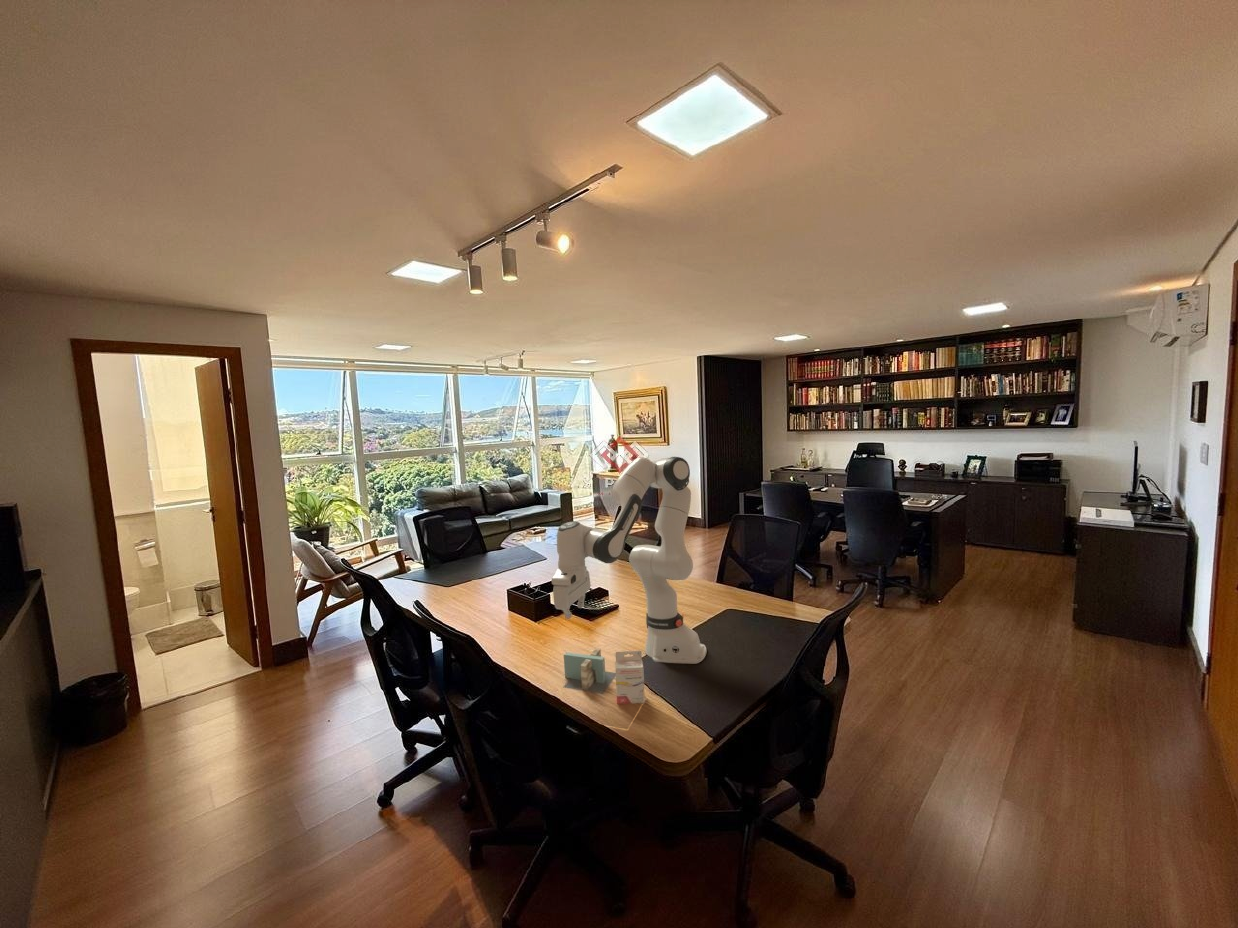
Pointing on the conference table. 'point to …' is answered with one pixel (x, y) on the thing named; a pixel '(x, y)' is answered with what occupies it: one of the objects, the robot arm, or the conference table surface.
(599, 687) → the felt mat
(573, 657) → the teal plate
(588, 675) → the stone wall model
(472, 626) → the conference table surface
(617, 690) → the ink cartridge box
